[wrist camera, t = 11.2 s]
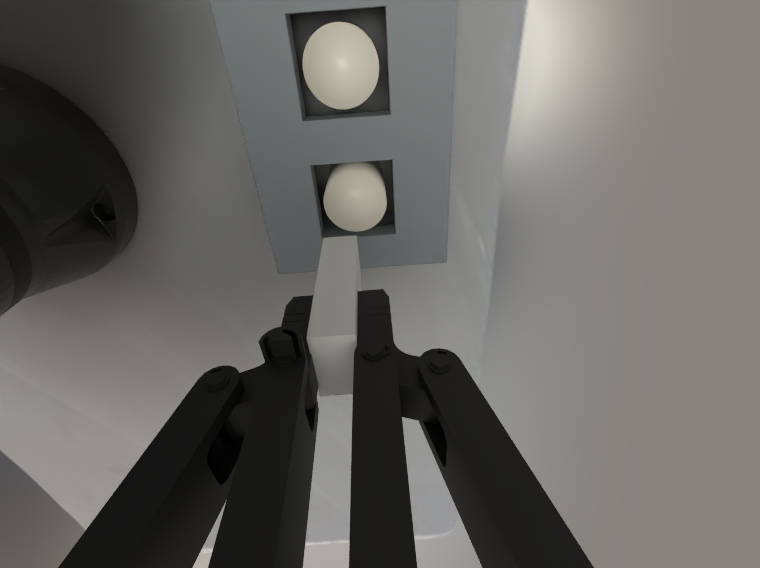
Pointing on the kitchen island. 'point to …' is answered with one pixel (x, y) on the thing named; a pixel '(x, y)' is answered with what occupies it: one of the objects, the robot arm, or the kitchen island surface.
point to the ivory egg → (355, 195)
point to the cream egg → (341, 65)
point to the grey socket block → (346, 128)
